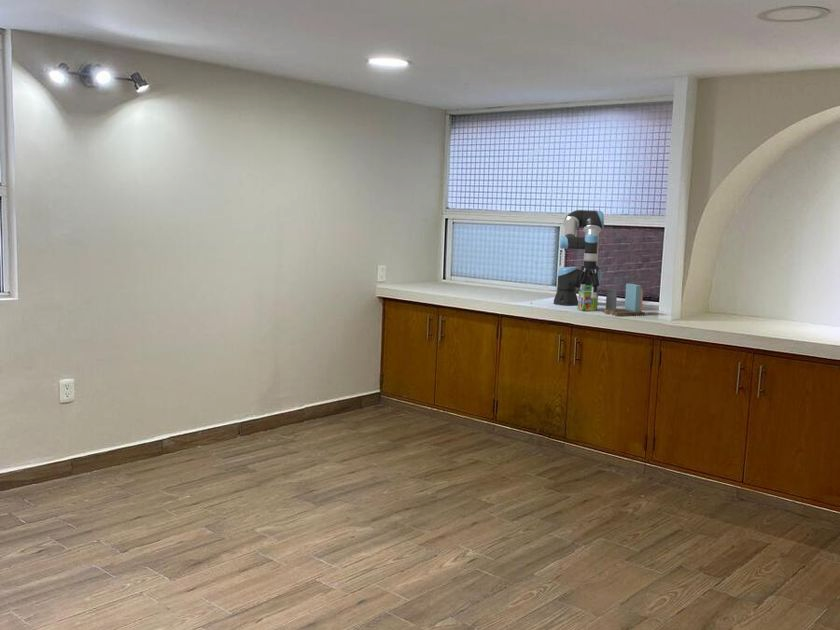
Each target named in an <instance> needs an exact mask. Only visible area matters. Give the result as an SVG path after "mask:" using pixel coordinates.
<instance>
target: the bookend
mask: <svg viewBox="0 0 840 630" xmlns="http://www.w3.org/2000/svg"><path fill="white" fill-rule="evenodd" d="M605 296H606V297H605V309H606V310H609V311H613V312H616V309H617V297H618V290H613V289H610V288H606V295H605Z"/></svg>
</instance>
